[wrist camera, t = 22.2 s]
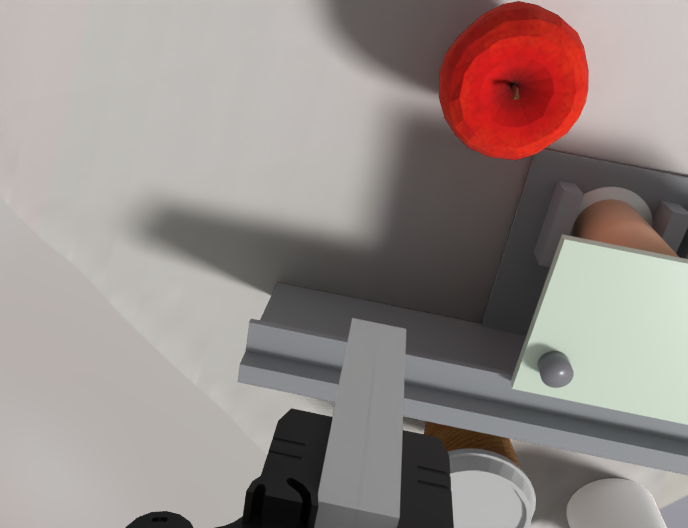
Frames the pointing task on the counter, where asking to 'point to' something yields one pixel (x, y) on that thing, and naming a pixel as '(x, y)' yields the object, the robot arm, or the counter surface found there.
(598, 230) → the peg
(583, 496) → the cup
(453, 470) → the disposable coffee cup
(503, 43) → the apple
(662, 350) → the lid
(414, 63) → the counter surface
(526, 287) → the housing
